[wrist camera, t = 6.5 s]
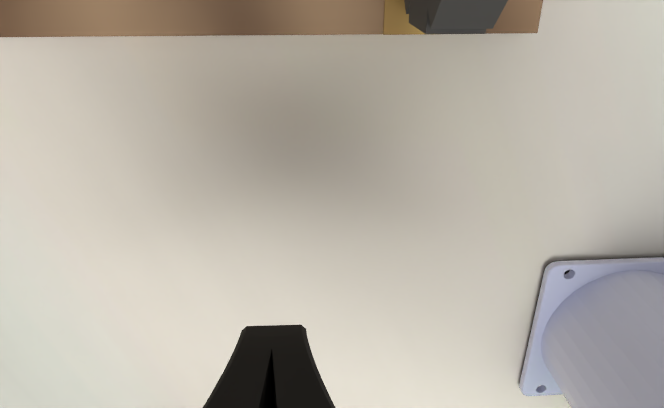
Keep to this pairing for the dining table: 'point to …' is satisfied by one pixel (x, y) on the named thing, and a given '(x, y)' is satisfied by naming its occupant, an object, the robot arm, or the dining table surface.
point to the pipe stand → (229, 17)
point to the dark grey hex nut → (454, 15)
